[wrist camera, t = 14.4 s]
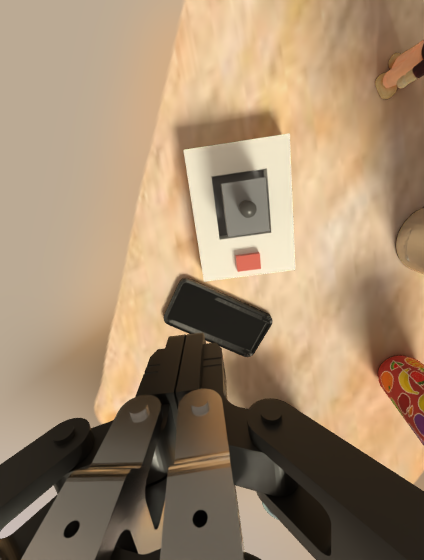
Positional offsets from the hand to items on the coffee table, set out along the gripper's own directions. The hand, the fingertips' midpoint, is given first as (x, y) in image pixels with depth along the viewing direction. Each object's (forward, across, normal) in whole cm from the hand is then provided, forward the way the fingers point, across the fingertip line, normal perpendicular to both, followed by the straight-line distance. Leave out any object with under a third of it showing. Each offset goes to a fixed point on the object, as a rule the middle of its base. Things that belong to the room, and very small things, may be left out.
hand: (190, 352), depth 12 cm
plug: (+27, -5, -4) cm, 27 cm away
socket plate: (+27, -5, -3) cm, 28 cm away
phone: (+28, 0, +12) cm, 30 cm away
